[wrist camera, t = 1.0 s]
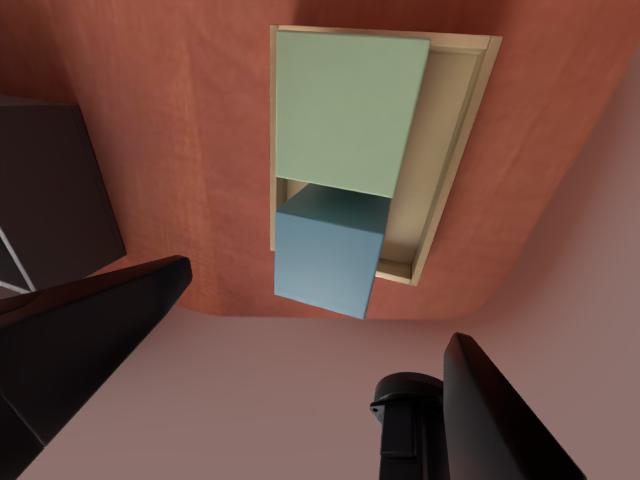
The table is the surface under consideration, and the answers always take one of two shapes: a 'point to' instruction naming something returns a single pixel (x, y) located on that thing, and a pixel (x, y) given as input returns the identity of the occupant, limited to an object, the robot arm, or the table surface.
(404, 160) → the wooden tray
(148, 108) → the table surface
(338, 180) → the sage block
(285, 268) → the teal block
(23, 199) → the dark grey open box
